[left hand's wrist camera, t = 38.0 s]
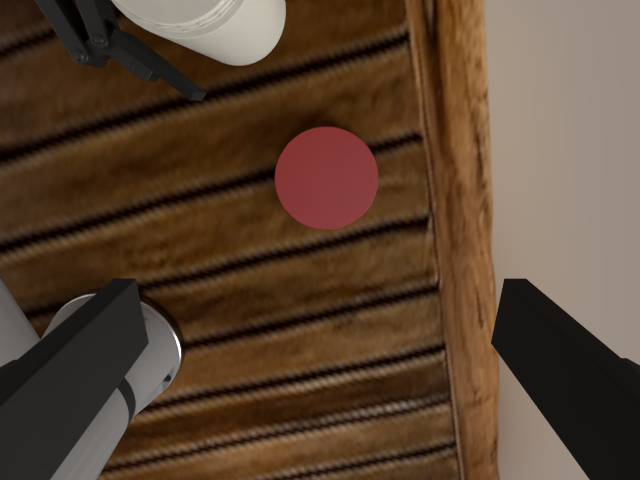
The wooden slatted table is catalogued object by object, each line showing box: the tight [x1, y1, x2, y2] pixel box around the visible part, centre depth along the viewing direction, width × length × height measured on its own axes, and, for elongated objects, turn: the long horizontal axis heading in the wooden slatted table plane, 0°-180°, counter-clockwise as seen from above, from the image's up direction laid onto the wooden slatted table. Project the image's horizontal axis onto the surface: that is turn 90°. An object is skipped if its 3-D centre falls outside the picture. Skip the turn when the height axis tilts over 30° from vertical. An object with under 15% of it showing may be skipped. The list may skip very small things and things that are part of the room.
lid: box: [275, 126, 378, 230], centre depth 35 cm, size 10×10×2 cm
